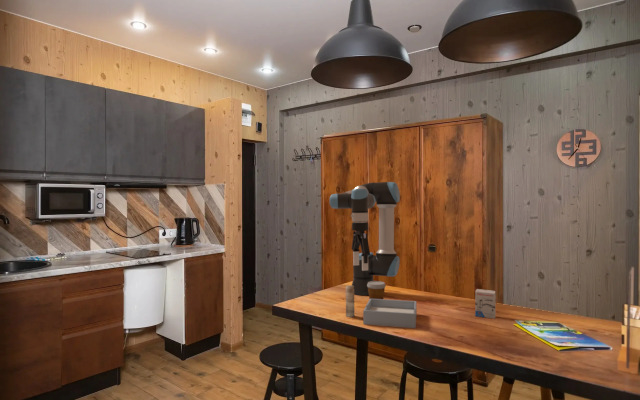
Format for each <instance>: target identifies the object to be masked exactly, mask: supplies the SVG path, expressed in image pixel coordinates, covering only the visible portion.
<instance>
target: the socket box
mask: <svg viewBox="0 0 640 400" xmlns="http://www.w3.org/2000/svg"><path fill="white" fill-rule="evenodd" d="M368 299H369V298H368ZM417 308H418V307H417V301H416V300H404V299H403V300H400V299H369V300H368V302H367V303H366V305H365V307H364V309H363V310H362V316H363V318H362V319H363V322H362V323H363V325H367V326H383V327H393V328H394V327H396V328H408V329H416V328H417V327H416V325H417V314H418V313H417V312H418V311H417Z"/></svg>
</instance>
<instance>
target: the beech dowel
mask: <svg viewBox="0 0 640 400" xmlns="http://www.w3.org/2000/svg"><path fill="white" fill-rule="evenodd" d="M345 317H346V318H354V317H355V294H354V286H352V284H349V285H348V284H347V285H346V286H345Z"/></svg>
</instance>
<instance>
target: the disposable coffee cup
mask: <svg viewBox="0 0 640 400" xmlns="http://www.w3.org/2000/svg"><path fill="white" fill-rule="evenodd" d="M367 287H368V292H369V295H368V296H369V298H368V299H384V298H385V289H386V282H384V281H380V280H378V281H377V280H374V281H370V282H368V284H367Z"/></svg>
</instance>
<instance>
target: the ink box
mask: <svg viewBox="0 0 640 400" xmlns="http://www.w3.org/2000/svg"><path fill="white" fill-rule="evenodd" d="M496 293H497V292H496V290H490V289H489V290H488V289H480V288H477V289H475V295H474V296H475V297H474V298H475V299H474V301H475V307H474V308H475V311H474V312H475V314H474V316H475V317H479V318H485V317H486V319H493V318H494V320H495V319H496V313H497V311H496V308H497V307H496V304H497V303H496V297H497V296H496V295H497V294H496Z"/></svg>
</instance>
